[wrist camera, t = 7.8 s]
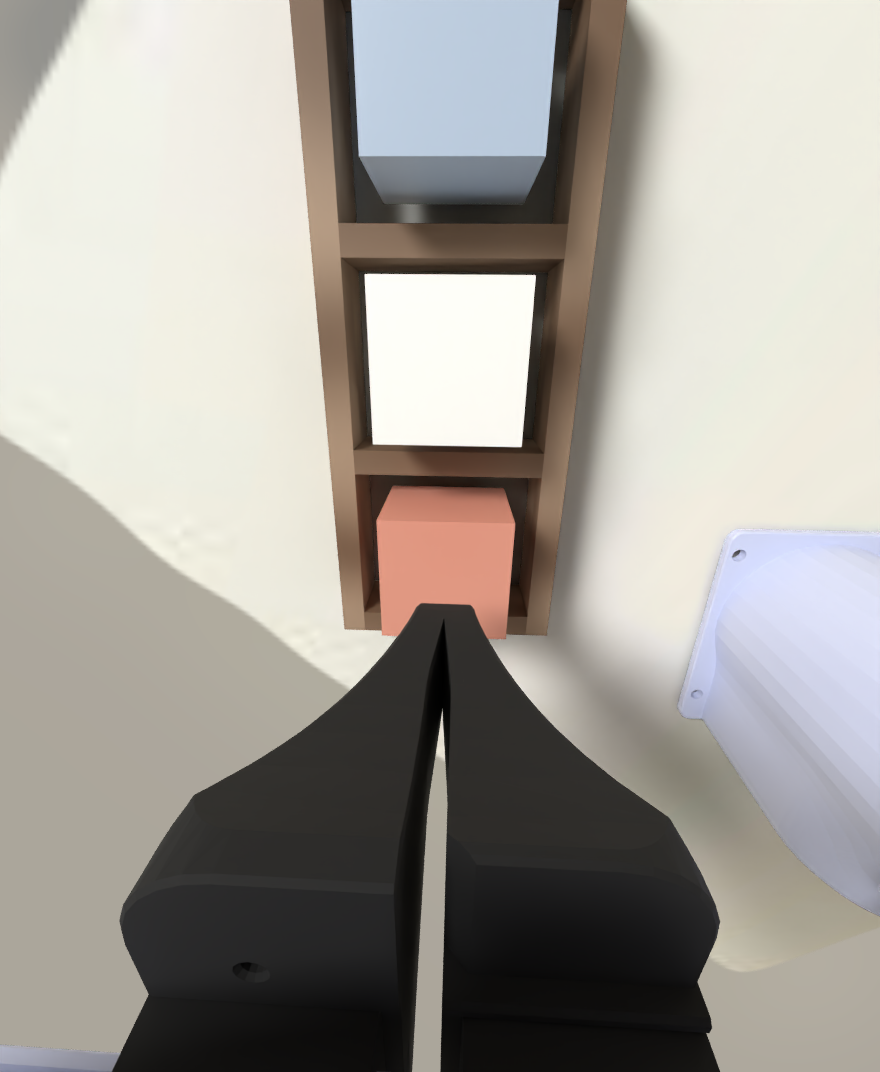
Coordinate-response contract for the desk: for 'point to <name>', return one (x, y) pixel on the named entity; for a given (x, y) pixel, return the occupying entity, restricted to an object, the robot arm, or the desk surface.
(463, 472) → the frame
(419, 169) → the key blue
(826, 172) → the desk surface
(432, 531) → the key terracotta
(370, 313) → the key white
